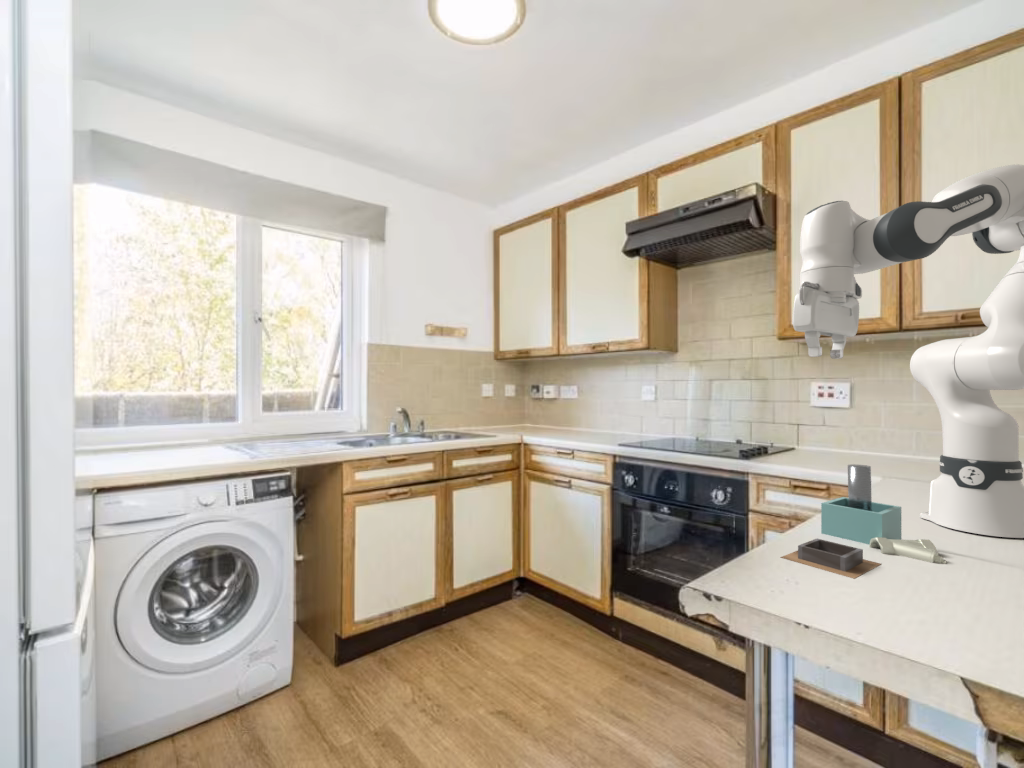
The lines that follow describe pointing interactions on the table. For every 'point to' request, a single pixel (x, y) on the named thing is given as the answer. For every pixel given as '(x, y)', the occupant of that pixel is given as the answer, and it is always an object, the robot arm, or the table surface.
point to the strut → (859, 487)
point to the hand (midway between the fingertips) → (826, 357)
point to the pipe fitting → (908, 549)
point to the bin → (860, 521)
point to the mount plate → (832, 558)
